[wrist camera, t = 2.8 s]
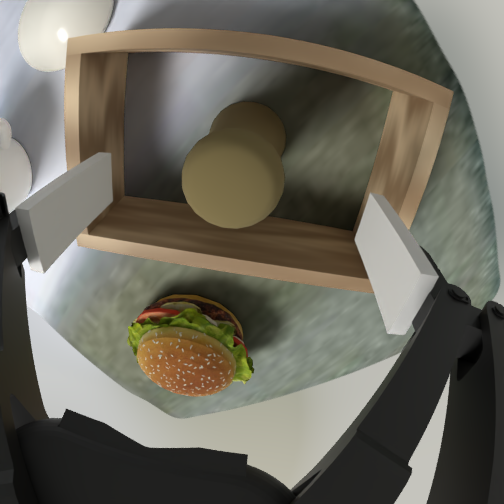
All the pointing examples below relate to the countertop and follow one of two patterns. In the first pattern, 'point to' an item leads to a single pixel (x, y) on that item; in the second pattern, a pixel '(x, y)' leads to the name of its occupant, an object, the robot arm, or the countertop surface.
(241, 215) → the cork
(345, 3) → the countertop surface
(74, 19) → the coaster
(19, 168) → the mug
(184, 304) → the food
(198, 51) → the access box
